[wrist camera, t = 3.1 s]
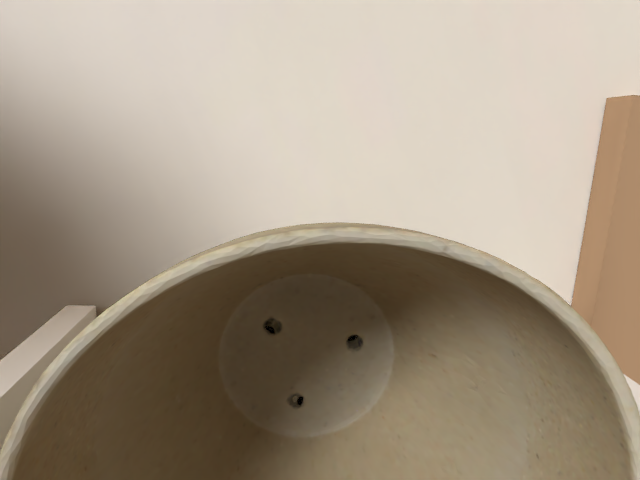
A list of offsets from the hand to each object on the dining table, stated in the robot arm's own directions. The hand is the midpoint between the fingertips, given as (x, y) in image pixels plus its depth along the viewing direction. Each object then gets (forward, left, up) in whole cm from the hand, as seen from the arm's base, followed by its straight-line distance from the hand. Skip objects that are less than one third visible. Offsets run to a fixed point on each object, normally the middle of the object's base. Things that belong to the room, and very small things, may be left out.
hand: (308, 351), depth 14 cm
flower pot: (0, 0, 0) cm, 0 cm away
